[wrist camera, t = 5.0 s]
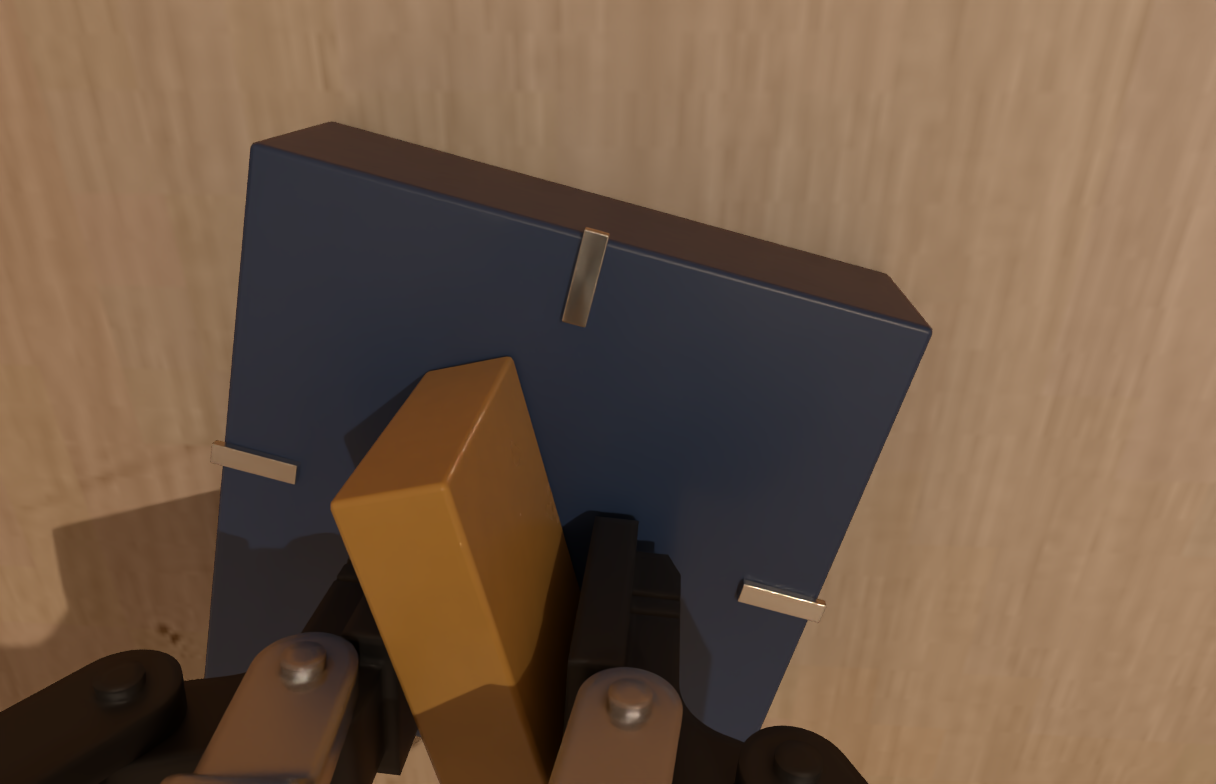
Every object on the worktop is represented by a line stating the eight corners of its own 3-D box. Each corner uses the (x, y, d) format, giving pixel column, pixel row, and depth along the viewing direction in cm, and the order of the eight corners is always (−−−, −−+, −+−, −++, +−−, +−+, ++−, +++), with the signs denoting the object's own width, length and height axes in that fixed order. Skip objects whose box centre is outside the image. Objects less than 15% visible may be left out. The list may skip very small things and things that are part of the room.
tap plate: (267, 589, 19) (191, 692, 16) (323, 111, 15) (236, 133, 12) (721, 707, 19) (727, 829, 16) (898, 270, 15) (949, 328, 12)
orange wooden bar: (424, 370, 13) (315, 515, 9) (513, 353, 13) (440, 495, 9) (527, 681, 15) (474, 905, 11) (604, 671, 15) (577, 895, 11)
